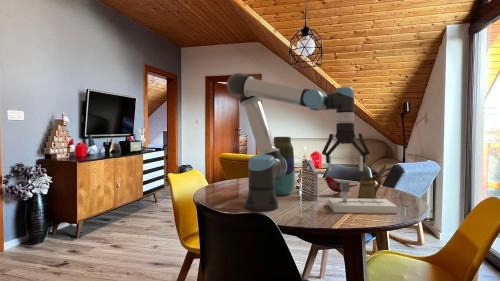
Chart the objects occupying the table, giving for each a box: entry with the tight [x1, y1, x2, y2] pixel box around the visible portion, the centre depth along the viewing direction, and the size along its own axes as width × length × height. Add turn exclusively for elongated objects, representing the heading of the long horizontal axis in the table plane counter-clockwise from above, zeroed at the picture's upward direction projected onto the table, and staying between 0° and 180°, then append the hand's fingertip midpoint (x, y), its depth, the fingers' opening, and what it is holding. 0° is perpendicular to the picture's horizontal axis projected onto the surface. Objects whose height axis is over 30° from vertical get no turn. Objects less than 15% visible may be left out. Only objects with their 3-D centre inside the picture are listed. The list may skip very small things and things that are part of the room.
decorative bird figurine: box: [323, 175, 358, 196], centre depth 170 cm, size 3×18×10 cm, turn 69°
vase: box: [273, 136, 296, 196], centre depth 174 cm, size 14×14×31 cm
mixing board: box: [327, 197, 398, 214], centre depth 141 cm, size 26×14×3 cm, turn 85°
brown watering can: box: [356, 164, 387, 199], centre depth 158 cm, size 9×14×18 cm, turn 76°
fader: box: [339, 180, 351, 201], centre depth 141 cm, size 3×5×9 cm, turn 175°
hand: (345, 170), depth 141 cm, fingers open, 13 cm apart
